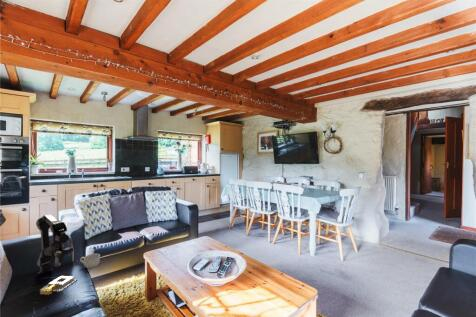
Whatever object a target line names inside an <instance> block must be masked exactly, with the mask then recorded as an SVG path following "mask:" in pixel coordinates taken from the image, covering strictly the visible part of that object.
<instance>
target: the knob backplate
mask: <svg viewBox="0 0 476 317" xmlns="http://www.w3.org/2000/svg"><path fill="white" fill-rule="evenodd" d="M76 280H77V279H75V276H71V275H69V276H68V275H61V276H58V277H57V278H54V279H53V280H52V281H50V282H49V283H47V285H45V286H43V287H42V288H40V289H39V294H40V295H46V296H47V295H48V296H50V295H51V294H53V292H55V293H61V292H62V291H64V290H65V289H66V288H68V287H70V286H71V285H73V283H75V282H77V281H76ZM49 294H50V295H49Z"/></svg>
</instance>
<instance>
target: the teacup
mask: <svg viewBox="0 0 476 317" xmlns="http://www.w3.org/2000/svg"><path fill="white" fill-rule="evenodd" d="M100 257H101V254H100V253H91V254H87V255H86V256H81V257H80V258H79V261H80V263H82V264H83V266H84V268H87V269H93V268H95V267H97V266H98V265H99V264H100V263H101V262H100V261H101V259H100Z"/></svg>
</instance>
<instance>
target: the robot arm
mask: <svg viewBox="0 0 476 317" xmlns="http://www.w3.org/2000/svg"><path fill="white" fill-rule="evenodd" d="M35 225H36V228H37V229H38V230H39V232H40V242H41V244H40V245H41V251H40V254H39V257H38V259H37V261H36V263H37V266H38V267H39V272H37V274H38V275H47V274H49V273H50V272H52V271H53V270H54V269H53V268H52V264H53V263H54V264H55V255H54V253H56V252H60V254H58V256H59V263H62V261H63V260H64V257H65V256H66V255H69V254H71V253H73V252H74V248H73V247H66V248H65V246H64V244H65V243H67V242H68V241H69V239H70V237H69V235H68V234H67V233H66V232H68V228H67V225H66V223H65V222H64V221H63V220H58V219H56V218H55V217H54V215H53V214H45V215H42V216H41V217H40V218H37V220H36V222H35ZM49 230H50V231H51V234H52V242H50V231H49Z"/></svg>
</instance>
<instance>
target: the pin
mask: <svg viewBox="0 0 476 317" xmlns="http://www.w3.org/2000/svg"><path fill="white" fill-rule="evenodd" d="M58 254H60V252H56V253H54V255H55V263H54V267H55V268H56V267H57V268H58V267H61V263H62V262H61V263H59V256H58Z"/></svg>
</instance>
